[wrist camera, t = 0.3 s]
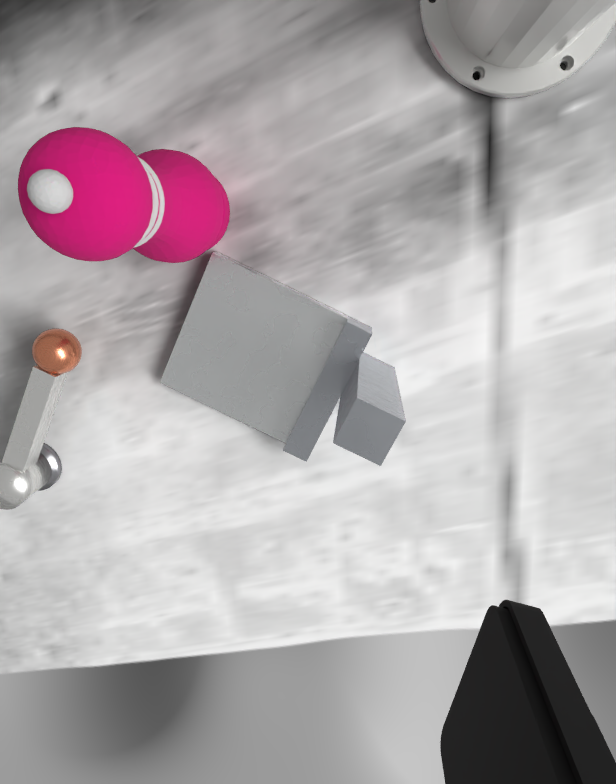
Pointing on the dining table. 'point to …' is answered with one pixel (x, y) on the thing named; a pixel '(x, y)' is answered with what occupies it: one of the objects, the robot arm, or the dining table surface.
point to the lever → (36, 417)
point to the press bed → (280, 365)
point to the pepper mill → (119, 199)
